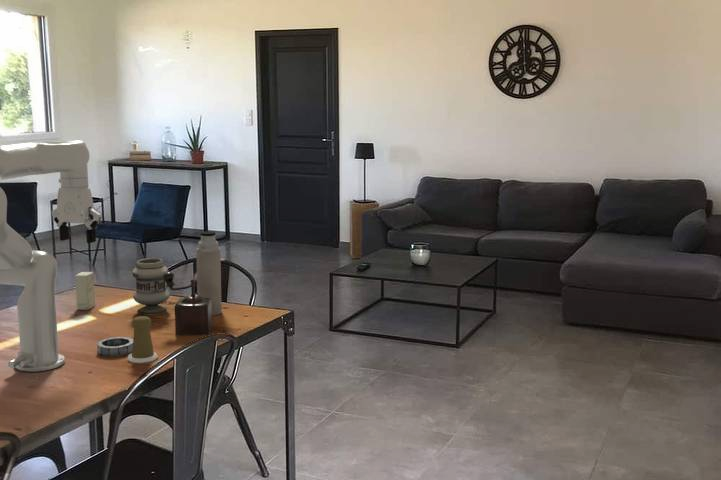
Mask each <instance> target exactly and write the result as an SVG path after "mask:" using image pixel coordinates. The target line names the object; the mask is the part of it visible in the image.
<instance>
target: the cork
mask: <svg viewBox="0 0 721 480" xmlns="http://www.w3.org/2000/svg"><path fill="white" fill-rule="evenodd" d="M131 326H132V329H134V330H133V337H132V339H133V348H132V352H131V354H132V357H134V358H148V357H151V356H153V355H154V346H153V341H152V340H153V339H152V335H151V330H150V328H151V326H152V319H151V318H150V317H149V316H147V315H144V316H143V315H141V316H135V317H134V318H133V319H132V321H131Z"/></svg>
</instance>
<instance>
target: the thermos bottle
mask: <svg viewBox="0 0 721 480" xmlns="http://www.w3.org/2000/svg"><path fill="white" fill-rule="evenodd" d="M219 245H220V244H219V241H218V240H216V232H215V231H202V232H200V240H199V241H198V245H197V246H198V247H197V248H196V252H195V253H196V283H197V284H196V285H197V286H196V287H197V288H196V289H197V291H196V295H199V296H201V297H205V298H211V299H212V301H211V304H212V316H217V315H220V314H221V313H222V312H223V311H222V310H223V309H222V279H221V278H222V271H221V270H222V266H221V264H222V262H221V261H222V260H221V256H222V255H221V248H220V247H219Z"/></svg>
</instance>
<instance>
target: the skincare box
mask: <svg viewBox="0 0 721 480" xmlns="http://www.w3.org/2000/svg"><path fill="white" fill-rule="evenodd" d="M74 279H75V281H74V282H75V297H76V298H75V299H76V310H82V311H83V310H85V311H86V310H87V311H88V310H90V309H92V308H94V307H95V306H96V295H95V294H96V293H95V279H94V271H81V272H79V273H77V274H75V275H74Z"/></svg>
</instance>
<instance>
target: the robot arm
mask: <svg viewBox="0 0 721 480" xmlns="http://www.w3.org/2000/svg"><path fill="white" fill-rule="evenodd" d="M89 160H90V151H89V149H88V147H87V145H86V143H85V141H83V140H74V139H72V140H70V139H69V140H60V141H59V140H58V141H57V140H56V141H54V140H48V141H43V142H20V143H12V144H11V143H10V144H0V181H3V180H4V181H5V180H10V179H15V178H21V177H28V176H38V175H39V176H41V175H47V174H55V173H59V176H60V178H59V179H58V183H59V184H60V187H58V190H57V198H56V209H52V210H51V216H52V217H53V221H54V222H55V223H56V226H57V227H58V228H59V229H58V230H59V240H60V241H62V242H63V241H67V240H69V239H70V230H69V229H70V227H69V225H68V223H71V224H72V223H73V224H84V225H85V227H86V228H87V229H86V231H85V233H86V234H85V235H86V236H85V237H86V243H87V244H92V243H95V242H96V241H97V235H96V230H97V228H98V226H99V225H100V224H101V220H102V217H103V215H102V213H100V212H98V211H97V210H95V206H94V199H93V196H92V191H91V187H89V172H88V169H89V168H88V163H89ZM7 212H8V198H7V195H6V193H5V191H4V190H3V188H2V187H1V186H0V285H9V286H12V285H13V286H21V287H24V288H23V291H21V294H20V296H19V297H18V299H17V304H16V306H17V309H16V310H17V319H18V320H17V321H18V322H17V323H18V334H19V348H20V351H18V352H17V356H16V358H14V359H12V360H9V361H8V362H7V365H8V367H9V368H10V369H12V368H13V369H14V368H15V369H16V370H18V371H22V372H30V373H31V372H36V373H37V372H45V371H49V370H53V369H56V368H59V367H61V366H63V365H64V364H65V362H66V357H65V356H64V355H63V354H60V352H59V337H58V321H57V306H56V305H57V304H56V282H57V277H58V261H57V259H56V258H55V256H54V255H52V254H51V253H49V252H46V251H44V250H33V249H32V246H31V245H30V243H29V242H28V240H26V238H24V237H23V236H22V235H21V234H19V233H18V232H17V231H16V230H15V229H13V227H11V226H10V225H9V224H8V222H7V214H8V213H7Z"/></svg>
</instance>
